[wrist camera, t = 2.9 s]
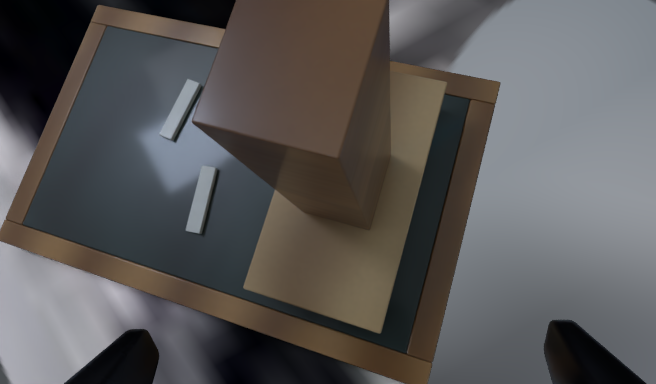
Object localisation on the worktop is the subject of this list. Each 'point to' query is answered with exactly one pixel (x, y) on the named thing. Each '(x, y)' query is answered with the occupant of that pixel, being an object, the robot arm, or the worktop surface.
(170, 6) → the worktop surface
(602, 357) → the robot arm
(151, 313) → the worktop surface
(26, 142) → the worktop surface
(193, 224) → the chalk stick
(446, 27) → the worktop surface
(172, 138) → the light grey rectangular bar
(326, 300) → the eraser
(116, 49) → the chalkboard
